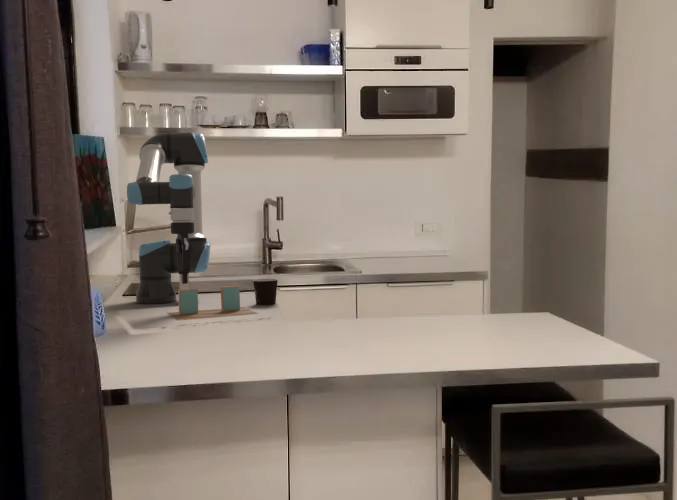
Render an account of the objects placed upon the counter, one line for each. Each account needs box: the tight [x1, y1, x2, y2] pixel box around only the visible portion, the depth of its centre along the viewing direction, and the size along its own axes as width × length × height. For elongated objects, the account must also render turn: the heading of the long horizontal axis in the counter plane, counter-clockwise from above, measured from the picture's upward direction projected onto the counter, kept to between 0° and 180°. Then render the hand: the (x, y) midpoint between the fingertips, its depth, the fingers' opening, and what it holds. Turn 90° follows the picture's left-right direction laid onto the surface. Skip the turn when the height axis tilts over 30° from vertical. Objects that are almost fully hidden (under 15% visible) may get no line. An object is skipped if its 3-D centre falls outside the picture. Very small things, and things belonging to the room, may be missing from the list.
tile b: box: [220, 285, 241, 311], centre depth 235 cm, size 2×6×8 cm, turn 114°
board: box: [166, 306, 259, 325], centre depth 230 cm, size 17×26×2 cm, turn 114°
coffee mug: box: [252, 278, 278, 306], centre depth 251 cm, size 12×9×10 cm
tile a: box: [177, 287, 199, 315], centre depth 229 cm, size 2×6×8 cm, turn 114°
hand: (184, 293), depth 234 cm, fingers closed
